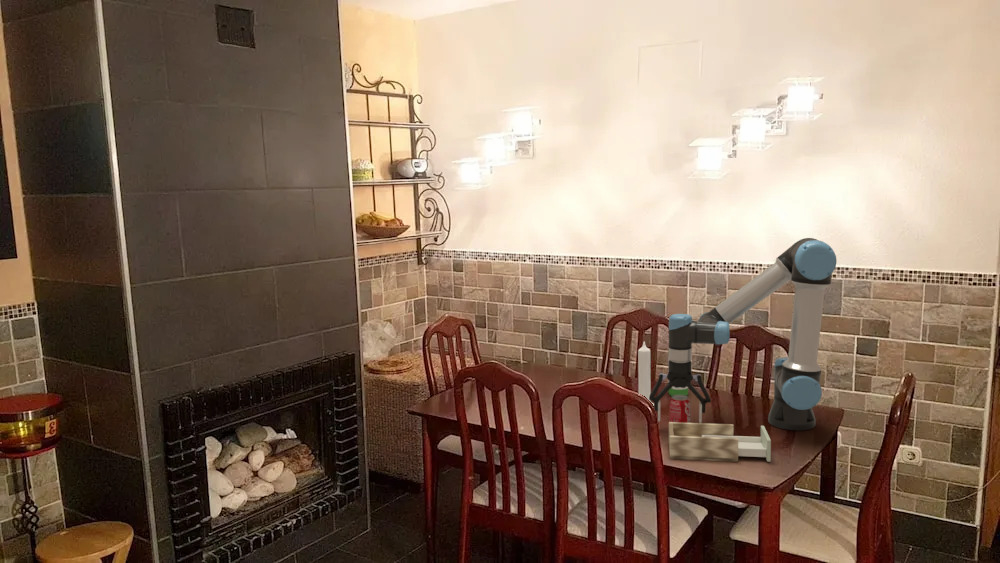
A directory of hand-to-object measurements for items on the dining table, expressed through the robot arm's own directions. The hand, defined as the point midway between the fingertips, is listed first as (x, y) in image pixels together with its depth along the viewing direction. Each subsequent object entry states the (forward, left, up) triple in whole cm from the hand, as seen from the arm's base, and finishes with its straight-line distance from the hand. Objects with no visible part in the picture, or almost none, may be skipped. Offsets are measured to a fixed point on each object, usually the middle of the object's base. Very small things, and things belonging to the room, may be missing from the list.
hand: (679, 421), depth 242 cm
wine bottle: (-1, -42, -4) cm, 42 cm away
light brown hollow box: (-6, +19, -4) cm, 20 cm away
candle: (+12, -27, -4) cm, 30 cm away
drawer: (-16, +19, -3) cm, 25 cm away
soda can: (0, 0, -4) cm, 4 cm away
